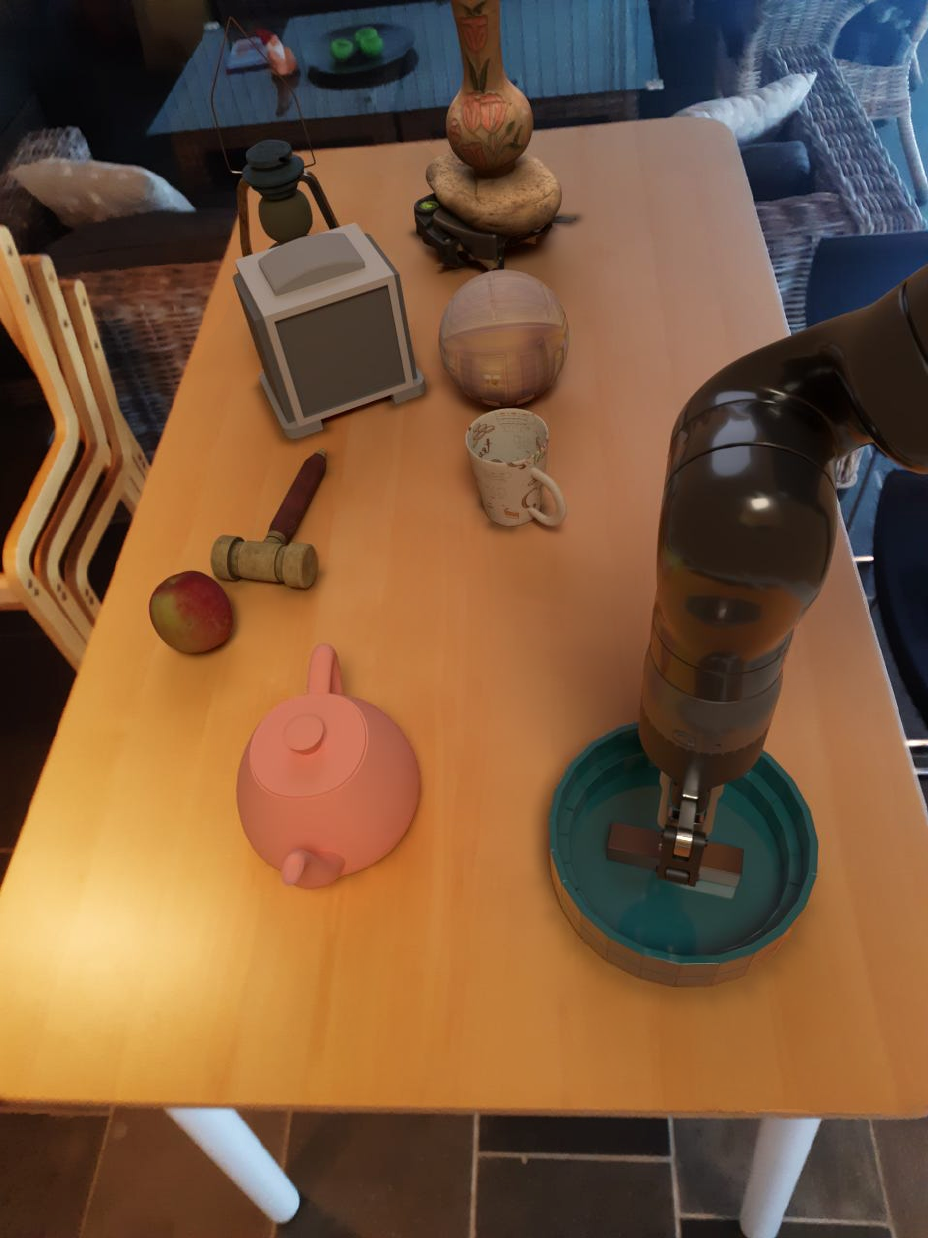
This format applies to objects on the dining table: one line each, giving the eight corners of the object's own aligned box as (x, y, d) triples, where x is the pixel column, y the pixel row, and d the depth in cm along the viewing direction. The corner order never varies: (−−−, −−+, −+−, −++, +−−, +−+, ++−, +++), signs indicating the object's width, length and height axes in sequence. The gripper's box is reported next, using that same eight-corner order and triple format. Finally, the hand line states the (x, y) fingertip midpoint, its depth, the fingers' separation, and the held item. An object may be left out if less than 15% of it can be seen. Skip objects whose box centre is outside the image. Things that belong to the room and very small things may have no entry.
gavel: (279, 430, 102) (360, 436, 100) (288, 461, 105) (367, 468, 103) (204, 556, 89) (296, 566, 87) (217, 587, 92) (306, 597, 90)
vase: (393, 279, 125) (342, -8, 98) (431, 200, 138) (395, -73, 111) (557, 285, 120) (552, -17, 93) (580, 202, 133) (581, -84, 106)
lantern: (361, 273, 127) (302, -11, 100) (353, 320, 120) (287, 29, 93) (266, 281, 129) (181, 3, 101) (252, 328, 121) (157, 43, 94)
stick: (739, 861, 68) (744, 848, 66) (737, 888, 67) (741, 876, 65) (610, 834, 71) (611, 821, 69) (606, 859, 69) (606, 847, 68)
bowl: (806, 778, 72) (822, 742, 68) (794, 1020, 62) (812, 996, 57) (576, 735, 77) (576, 699, 72) (526, 953, 66) (523, 926, 61)
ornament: (592, 376, 107) (594, 262, 96) (524, 448, 101) (517, 335, 89) (492, 342, 114) (482, 231, 102) (422, 407, 107) (402, 297, 95)
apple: (242, 599, 91) (217, 546, 85) (243, 661, 86) (216, 610, 80) (169, 613, 91) (139, 562, 85) (166, 677, 86) (133, 627, 80)
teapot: (421, 938, 68) (395, 878, 58) (231, 947, 69) (174, 889, 59) (426, 697, 81) (405, 616, 72) (266, 708, 82) (225, 629, 73)
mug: (513, 469, 99) (507, 397, 91) (596, 523, 92) (598, 450, 85) (458, 508, 96) (448, 437, 88) (541, 567, 90) (537, 496, 82)
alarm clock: (392, 338, 117) (366, 202, 102) (428, 392, 109) (406, 253, 94) (260, 382, 114) (214, 249, 99) (288, 442, 106) (242, 306, 91)
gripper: (765, 819, 46) (727, 923, 58) (784, 607, 54) (746, 739, 66) (621, 790, 48) (614, 897, 60) (659, 589, 56) (646, 721, 68)
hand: (683, 814), depth 63 cm, fingers open, 8 cm apart
